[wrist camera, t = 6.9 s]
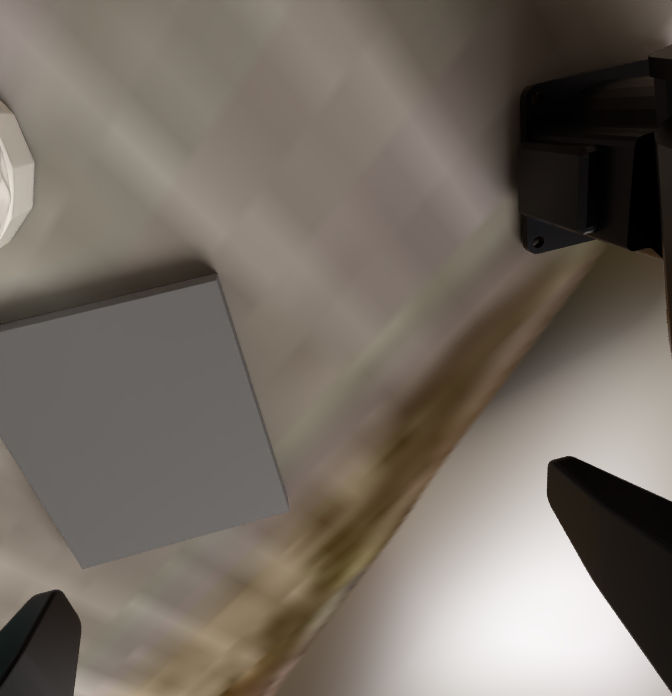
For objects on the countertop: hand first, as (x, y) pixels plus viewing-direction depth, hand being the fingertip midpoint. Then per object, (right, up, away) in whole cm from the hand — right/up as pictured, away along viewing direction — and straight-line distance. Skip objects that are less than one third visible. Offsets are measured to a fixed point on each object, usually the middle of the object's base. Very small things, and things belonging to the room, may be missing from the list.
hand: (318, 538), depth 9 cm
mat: (-8, 0, +13) cm, 15 cm away
